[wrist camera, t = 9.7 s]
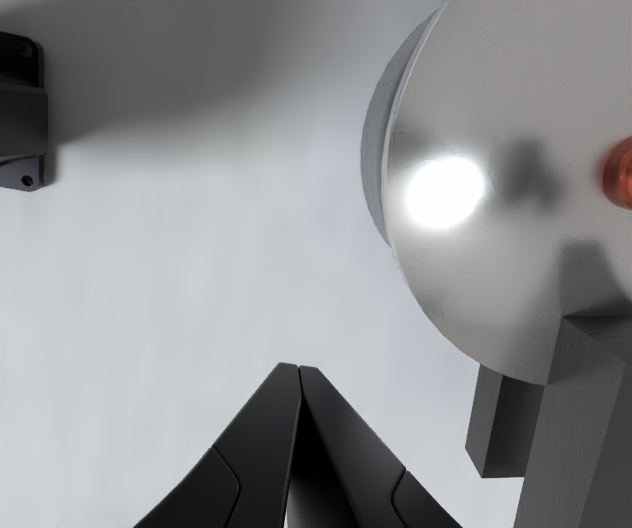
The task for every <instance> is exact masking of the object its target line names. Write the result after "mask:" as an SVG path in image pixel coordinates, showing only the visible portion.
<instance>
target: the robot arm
mask: <svg viewBox="0 0 632 528" xmlns="http://www.w3.org/2000/svg"><path fill="white" fill-rule="evenodd" d="M28 45H30V47H31V48H32V51H33V52H32V55H31V56H30V57H28V56H27V54H26V52H25V49H26V47H27V46H28ZM47 145H48V95H47V94H46V92H45V91H44V52H43V48H42V47H41V45H40V44H39V43H38V42H37V41H35V40H33V39H30V38H27V37H23V36H19V35H15V34H10V33H6V32H1V31H0V187H5V188H10V189H16V190H21V191H27V192H32V191H36V190H38V189H40V188H41V187H42V186H43V182H44V153H45V152H46V151H47ZM27 176H30V177H31V178H32V179H33V184H32V185H31V184H29V183H28V182H27V179H26V178H27ZM286 507H287V524H288V528H463V527H461V526H460V525H459V524H458V523H457V522H456V521H455V520H454V519H453V518H452V517H451V516H450V515H449V514H448V513H447V512H446V511H445V510H444V509H443V508H442V507H441V506H440V504H439V503H438V502H437V501H436V500H435V499H434V498H433V497H432V496H431V495H430V494H429V493H428V492H427V490H426V489H425V488H424V487H423V486H422V485H421V484H420V483H419V482H418V481H417V479H416V478H415V477H414V476H413V475H412V474H411V473H410V472H409V471H406V467H405V466H404V465H403V464H402V463H401V462H400V461H399V459H398V458H397V457H396V456H395V455H394V454H393V453H392V451H391V450H390V449H389V448H388V447H387V446H386V445H385V444H384V442H383V441H382V440H381V439H380V438H379V437H378V436H377V435H376V433H375V432H374V431H373V430H372V429H371V428H370V427H369V426H368V424H367V423H366V422H365V421H364V420H363V419H362V418H361V416H360V415H359V414H358V413H357V412H356V411H355V410H354V409H353V407H352V406H351V405H350V404H349V403H348V402H347V401H346V400H345V398H344V397H343V396H342V395H341V394H340V393H339V392H338V391H337V389H336V388H335V387H334V386H333V385H332V384H331V383H330V381H329V380H328V379H327V378H326V377H325V376H324V375H323V374H322V372H321V371H320V370H319V369H318V368H316V367H310V366H303V365H301V366H299V367H298V366H297V365H295V364H289V363H283V362H280V363H278V364H277V365H276V367H275V368H274V369H273V370H272V372H271V373H270V374H269V375H268V377H267V378H266V379H265V380H264V382H263V383H262V384H261V385H260V386H259V388H258V389H257V390H256V391H255V393H254V394H253V395H252V396H251V398H250V399H249V400H248V401H247V403H246V404H245V405H244V406H243V407H242V409H241V410H240V411H239V412H238V414H237V415H236V416H235V417H234V419H233V420H232V421H231V422H230V424H229V425H228V426H227V427H226V429H225V430H224V431H223V432H222V433H221V435H220V436H219V437H218V438H217V440H216V441H215V442H214V443H213V445H212V446H211V448H209V449H208V450H207V452H206V453H205V454H204V455H203V457H202V458H201V459H200V460H199V462H198V463H197V464H196V465H195V466H194V467H193V468H192V470H191V471H190V472H189V473H188V474H187V475H186V476H185V477H184V479H183V480H182V481H181V482H180V483H179V484H178V485H177V486H176V487H175V488H174V489H173V490H172V491H171V492H170V493H169V494H168V495H167V496H166V497H165V498H164V499H163V500H162V501H161V502H160V503H159V504H157V505H156V506H155V507H154V508H153V509H152V510H151V511H150V512H149V513H148V514H147V515H146V516H145V517H144V518H142V519H141V520H140V521H139V522H138V523H137V524H136V525H135V526H134V527H133V528H284V521H285V514H286Z"/></svg>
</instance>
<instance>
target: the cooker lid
mask: <svg viewBox="0 0 632 528" xmlns="http://www.w3.org/2000/svg"><path fill="white" fill-rule="evenodd" d="M381 199H382V207H383V214H384V222H385V229H386V233H387V236H388V240H389V244H390V247H391V251H392V254H393V258H394V260H395V262H396V264H397V267H398V269H399V271H400V274H401V276H402V278H403V280H404V282H405V284H406V286H407V287H408V289H409V290H410V292H411V294H412V295H413V297H414V298H415V300H416V302H417V303H418V305H419V306H420V307H421V309H422V310H423V312H424V313H425V314H426V316H427V317H428V318H429V319H430V320H431V322H432V323H433V324H434V325H435V326H436V327H437V329H438V330H439V331H440V332H441V333H442V334H443V336H444V337H446V338H447V339H448V340H449V341H450V342H451V343H453V344H454V345H455V346H456V347H457V348H458V349H460V350H461V351H462V352H463V353H465V354H466V355H468V356H469V357H471V358H472V359H474V360H476V361H477V362H479V363H480V364H482V365H484V366H485V367H488V368H490V369H492V370H494V371H497V372H499V373H501V374H503V375H506V376H508V377H512V378H515V379H518V380H522V381H525V382H529V383H533V384H539V385H545V388H544V393H543V397H542V402H541V406H540V411H539V415H538V420H537V424H536V429H535V433H534V437H533V442H532V446H531V451H530V455H529V460H528V464H527V469H526V473H525V478H524V482H523V486H522V491H521V495H520V500H519V504H518V509H517V513H516V518H515V522H514V527H513V528H632V0H445V1H444V2H443V4H442V5H441V7H440V8H439V9H438V11H437V12H436V14H435V15H434V17H433V18H432V20H431V21H430V23H429V24H428V26H427V27H426V29H425V31H424V33H423V35H422V37H421V38H420V40H419V42H418V44H417V46H416V48H415V50H414V52H413V54H412V56H411V58H410V60H409V61H408V64H407V66H406V69H405V71H404V74H403V77H402V79H401V82H400V85H399V87H398V90H397V92H396V95H395V98H394V102H393V105H392V109H391V113H390V117H389V121H388V125H387V129H386V134H385V142H384V150H383V158H382V166H381Z"/></svg>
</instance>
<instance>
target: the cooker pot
mask: <svg viewBox="0 0 632 528" xmlns="http://www.w3.org/2000/svg"><path fill="white" fill-rule="evenodd" d="M437 11H438V10H437ZM437 11H435V12H434V13H433V14H432V15H431V16H429V17H428V18H427V19H426V20H425V21H424V22H423V23H421V24H420V25H419V26H418V27H417V28H416V29H415V30H414V31H413V33H412V34H411V35H410V36H409V37H408V38H407V39H406V40H405V41H404V43H403V44H402V45H401V46H400V48H399V49H398V51H397V52H396V53H395V55H394V56H393V58H392V59H391V61H390V62H389V64H388V65H387V67H386V69H385V71H384V73H383V75H382V76H381V78H380V80H379V82H378V84H377V86H376V89H375V91H374V94H373V97H372V99H371V102H370V104H369V107H368V111H367V115H366V119H365V123H364V127H363V135H362V142H361V176H362V184H363V190H364V194H365V198H366V202H367V205H368V209H369V211H370V214H371V216H372V218H373V221H374V223H375V225H376V227H377V229H378V230H379V232H380V234H381V235H382V237H383V239H384V240H385V242H386V243H387V244H388V245H389V247H390V244H389V240H388V236H387V233H386V229H385V222H384V214H383V207H382V199H381V166H382V158H383V150H384V142H385V134H386V129H387V125H388V121H389V117H390V113H391V109H392V105H393V102H394V98H395V95H396V92H397V90H398V87H399V85H400V82H401V79H402V77H403V74H404V71H405V69H406V66H407V64H408V61H409V60H410V58H411V56H412V54H413V52H414V50H415V48H416V46H417V44H418V42H419V40H420V38H421V37H422V35H423V33H424V31H425V29H426V27H427V26H428V24H429V23H430V21H431V20H432V18H433V17H434V15H435V14H436V12H437ZM390 248H391V247H390ZM544 388H545V385H539V384H533V383H529V382H525V381H522V380H518V379H515V378H512V377H508V376H506V375H503V374H501V373H499V372H497V371H494V370H492V369H490V368H488V367H485V366H484V365H482V364H480V368H479V374H478V379H477V385H476V390H475V396H474V401H473V407H472V412H471V418H470V423H469V428H468V434H467V439H466V445H465V449H466V451H467V452H468V454H469V456H470V458H471V460H472V462H473V463H474V465H475V467H476V469H477V471H478V473H479V474H480V476H481V478H509V477H525V473H526V469H527V464H528V460H529V455H530V451H531V446H532V442H533V437H534V433H535V429H536V424H537V420H538V415H539V411H540V406H541V402H542V397H543V393H544Z"/></svg>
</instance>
